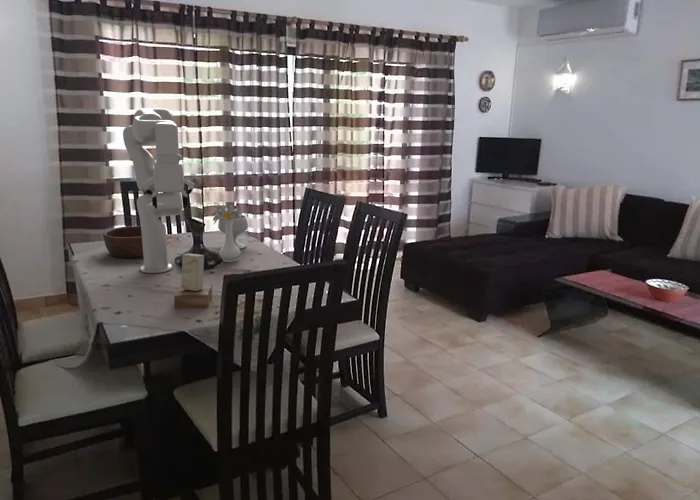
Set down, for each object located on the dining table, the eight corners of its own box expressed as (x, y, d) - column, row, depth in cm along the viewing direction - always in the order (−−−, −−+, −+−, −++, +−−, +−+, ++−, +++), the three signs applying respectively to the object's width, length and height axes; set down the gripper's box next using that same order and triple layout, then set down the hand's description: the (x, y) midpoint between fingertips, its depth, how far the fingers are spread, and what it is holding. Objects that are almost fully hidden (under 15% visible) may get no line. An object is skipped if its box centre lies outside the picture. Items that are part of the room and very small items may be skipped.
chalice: (212, 247, 267) (211, 216, 263) (235, 242, 278) (234, 212, 274) (232, 252, 259) (231, 220, 255) (254, 246, 270) (253, 216, 266)
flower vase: (235, 253, 257) (234, 200, 251) (250, 263, 242) (248, 207, 235) (208, 256, 250) (205, 202, 244) (220, 267, 235) (218, 209, 229)
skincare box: (180, 289, 191) (181, 254, 190) (188, 287, 195) (188, 253, 194) (196, 291, 189) (197, 256, 188) (203, 289, 194) (204, 254, 192)
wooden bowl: (104, 248, 261) (102, 227, 258) (160, 244, 270) (159, 224, 268) (104, 262, 239) (102, 239, 236) (165, 257, 248) (164, 235, 246)
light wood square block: (180, 298, 198) (180, 285, 197) (212, 298, 199) (211, 284, 198) (175, 309, 188) (174, 295, 186) (208, 308, 189) (207, 295, 188)
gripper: (193, 157, 197) (195, 204, 202) (141, 157, 193) (145, 205, 198) (193, 160, 191) (195, 209, 196) (140, 160, 186) (143, 210, 191)
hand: (170, 207), depth 197 cm, fingers open, 9 cm apart
